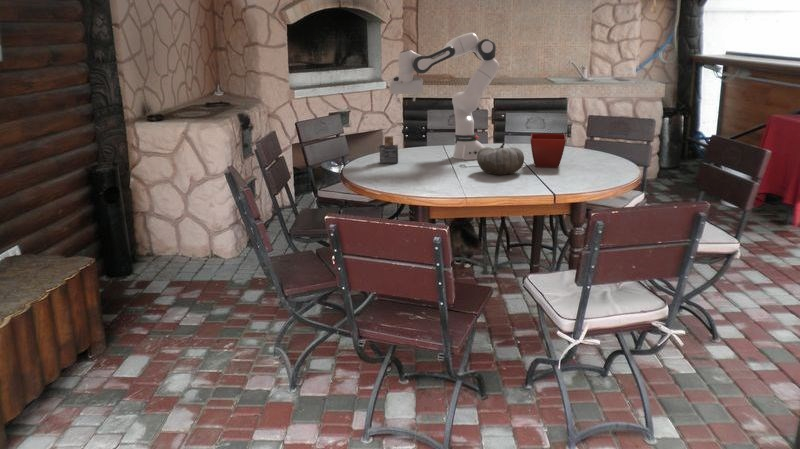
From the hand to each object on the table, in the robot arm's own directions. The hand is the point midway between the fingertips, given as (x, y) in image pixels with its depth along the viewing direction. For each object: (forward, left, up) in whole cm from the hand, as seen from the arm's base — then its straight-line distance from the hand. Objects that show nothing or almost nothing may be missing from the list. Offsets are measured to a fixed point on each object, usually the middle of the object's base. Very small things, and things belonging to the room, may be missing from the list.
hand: (406, 101), depth 419 cm
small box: (+11, +18, -34) cm, 40 cm away
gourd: (-49, +53, -34) cm, 80 cm away
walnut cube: (+11, +18, -24) cm, 32 cm away
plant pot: (-79, +35, -34) cm, 93 cm away
